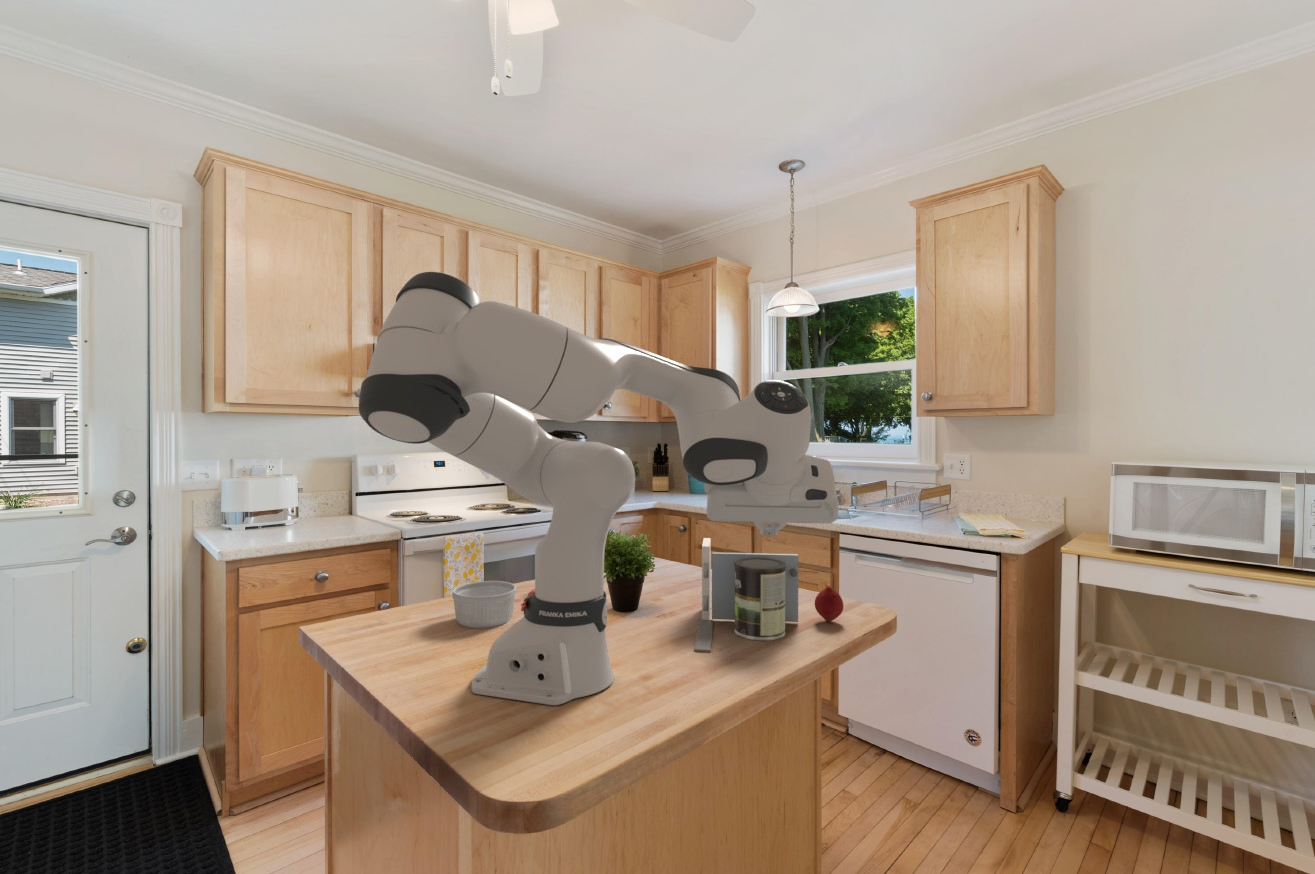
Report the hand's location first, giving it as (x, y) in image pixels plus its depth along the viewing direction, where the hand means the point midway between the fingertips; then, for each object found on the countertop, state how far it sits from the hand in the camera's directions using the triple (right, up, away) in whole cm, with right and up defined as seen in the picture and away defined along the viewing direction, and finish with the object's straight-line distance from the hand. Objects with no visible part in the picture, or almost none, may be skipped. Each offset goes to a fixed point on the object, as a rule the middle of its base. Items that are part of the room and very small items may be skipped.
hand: (768, 532), depth 101 cm
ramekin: (-55, -24, +31) cm, 68 cm away
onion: (+18, -24, +30) cm, 42 cm away
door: (+2, -23, +29) cm, 37 cm away
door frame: (-8, -24, +26) cm, 36 cm away
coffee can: (+2, -24, +23) cm, 33 cm away
